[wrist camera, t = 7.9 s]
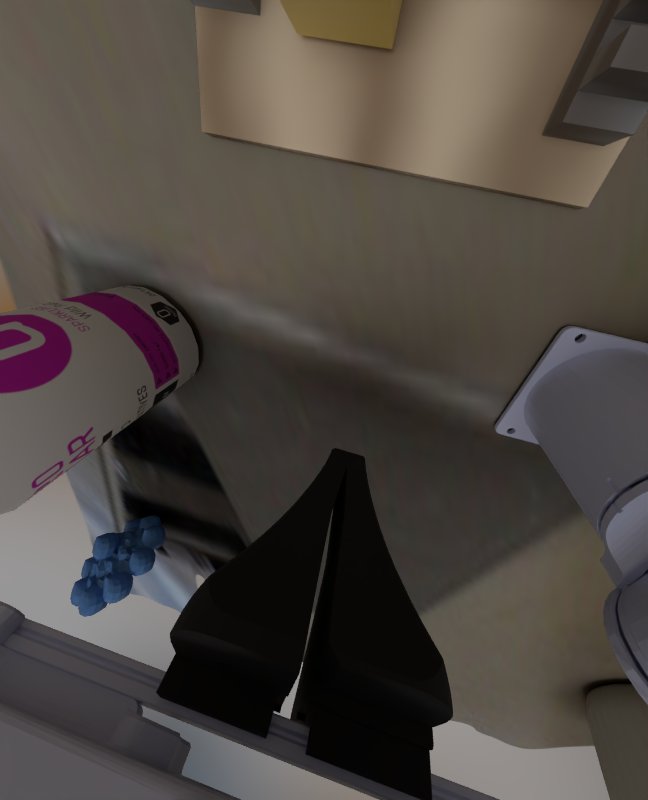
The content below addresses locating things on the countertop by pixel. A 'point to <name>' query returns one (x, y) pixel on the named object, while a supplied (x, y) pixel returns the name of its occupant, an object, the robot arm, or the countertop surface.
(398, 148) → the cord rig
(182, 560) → the countertop surface
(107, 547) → the grapes
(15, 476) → the supplement can
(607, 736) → the canister
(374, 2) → the sleeve
